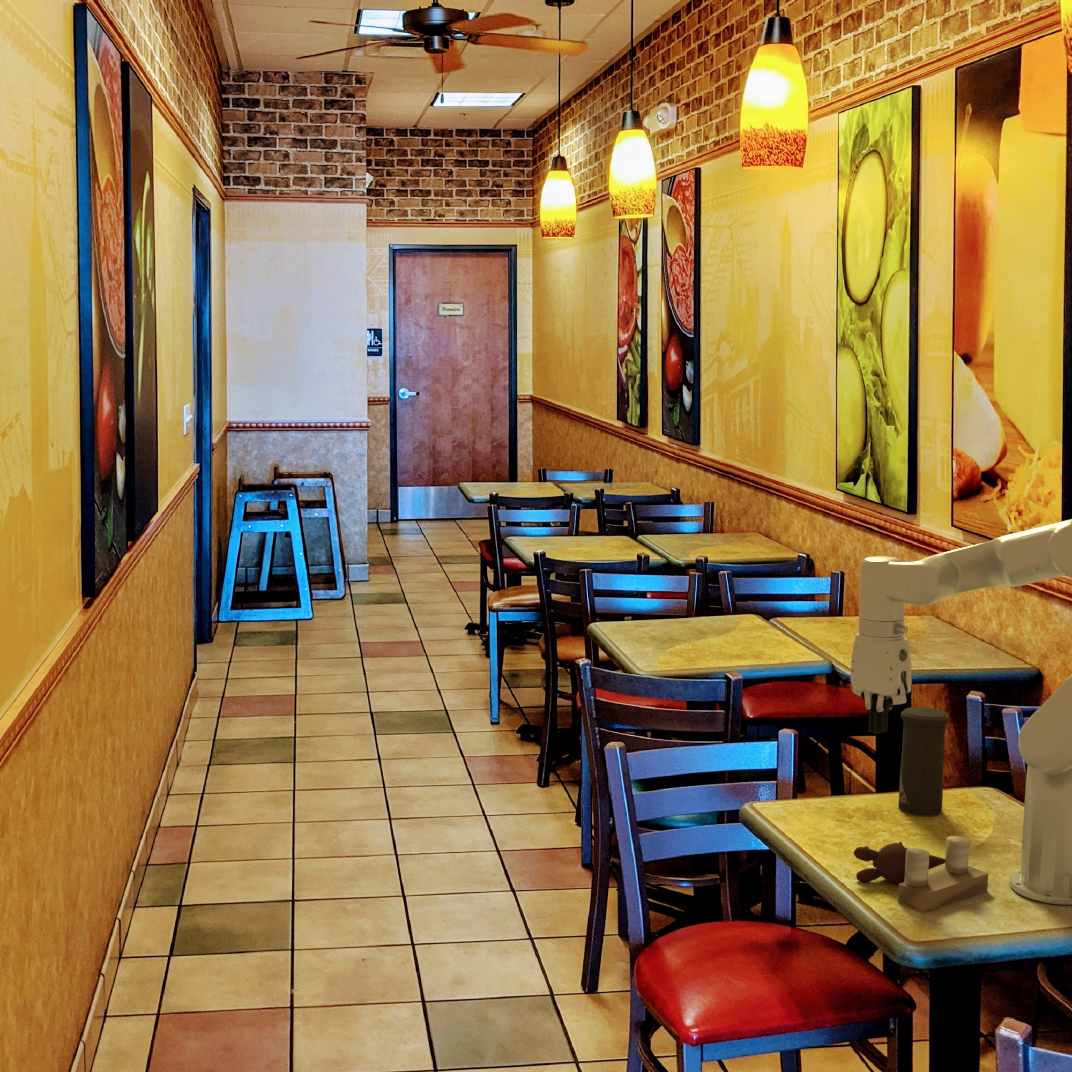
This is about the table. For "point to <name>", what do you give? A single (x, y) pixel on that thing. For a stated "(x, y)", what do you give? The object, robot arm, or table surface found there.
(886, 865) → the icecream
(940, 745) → the container
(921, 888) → the rail
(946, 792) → the table surface
